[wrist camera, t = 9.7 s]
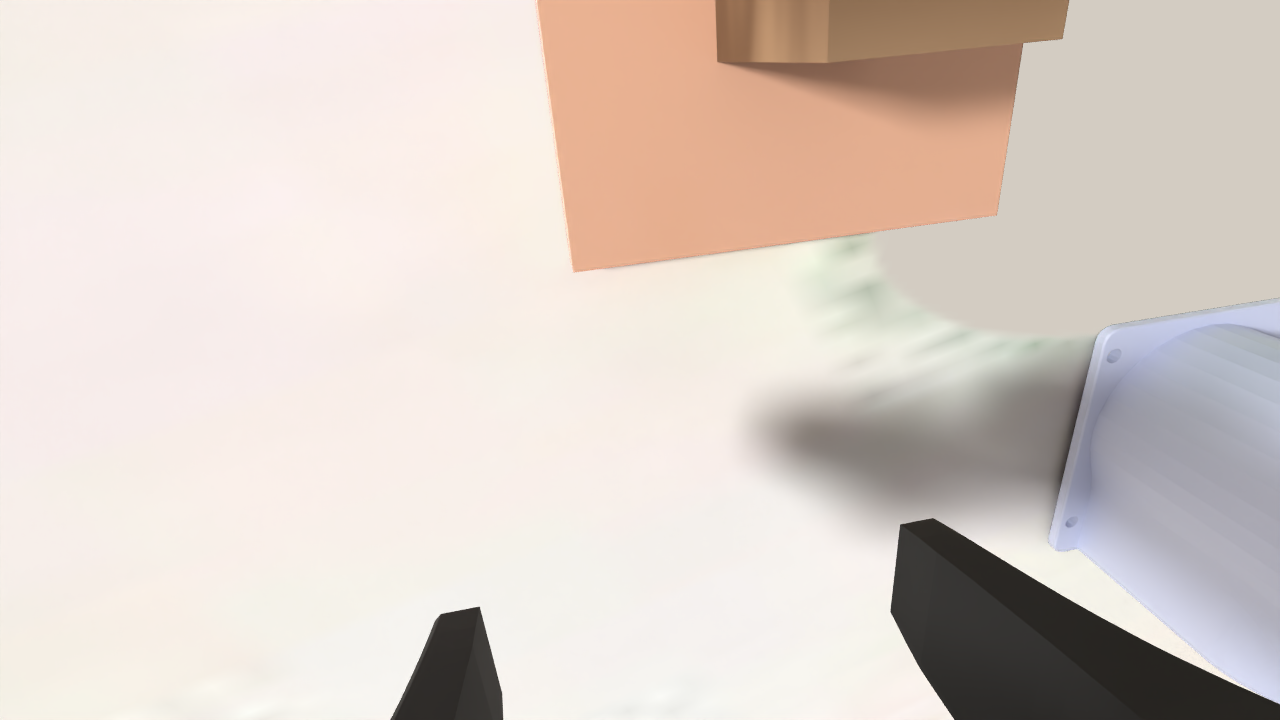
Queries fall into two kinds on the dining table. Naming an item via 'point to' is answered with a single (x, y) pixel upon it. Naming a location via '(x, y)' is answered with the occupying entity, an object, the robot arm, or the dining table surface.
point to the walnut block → (876, 27)
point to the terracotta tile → (757, 136)
